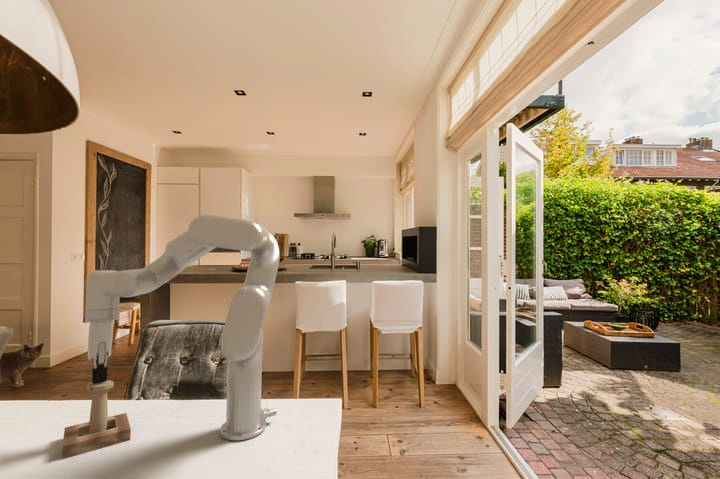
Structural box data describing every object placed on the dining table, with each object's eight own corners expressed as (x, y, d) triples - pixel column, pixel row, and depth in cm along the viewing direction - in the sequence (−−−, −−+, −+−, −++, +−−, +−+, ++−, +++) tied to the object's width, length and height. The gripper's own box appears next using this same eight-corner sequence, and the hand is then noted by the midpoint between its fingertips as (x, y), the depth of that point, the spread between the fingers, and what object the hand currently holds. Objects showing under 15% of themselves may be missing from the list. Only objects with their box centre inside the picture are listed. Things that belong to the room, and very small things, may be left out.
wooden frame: (126, 423, 101) (126, 412, 101) (130, 439, 92) (130, 427, 92) (64, 438, 92) (64, 426, 93) (61, 459, 83) (62, 445, 83)
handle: (98, 445, 89) (101, 387, 90) (79, 442, 90) (82, 385, 91) (115, 436, 94) (117, 381, 95) (96, 433, 95) (99, 379, 96)
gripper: (85, 312, 97) (82, 377, 96) (85, 320, 86) (81, 393, 85) (117, 310, 102) (114, 371, 101) (121, 317, 91) (118, 386, 90)
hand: (99, 381), depth 93 cm, fingers closed
